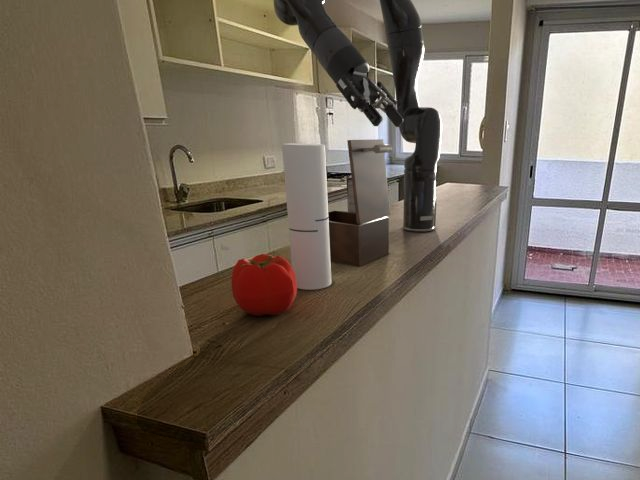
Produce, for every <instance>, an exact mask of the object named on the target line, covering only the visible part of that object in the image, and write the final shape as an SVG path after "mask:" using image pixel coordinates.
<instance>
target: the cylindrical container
mask: <svg viewBox="0 0 640 480" xmlns="http://www.w3.org/2000/svg"><path fill="white" fill-rule="evenodd" d="M281 151H282V160H283V161H282V164H283V176H284V186H285V187H284V188H285V200H286V212H287V213H286V214H287V222H288V235H289V236H288V237H289V249H290V260H291V267H292V269H293V271H294V274H295V276H296V281H297V289H300V290H307V291H308V290H309V291H311V290H312V291H313V290H321V289H322V290H323V289H326V288H328V287H330V286H331V285H332V283H333V282H332V264H331V262H332V261H331V260H330V239H329V218H328V211H329V202H328V201H329V199H328V198H329V197H328V179H327V178H328V177H327V159H326V156H327V155H326V144H323V143H322V144H321V143H299V142H296V143H295V142H294V143H291V142H289V143H287V142H286V143H281Z"/></svg>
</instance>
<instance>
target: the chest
mask: <svg viewBox="0 0 640 480" xmlns="http://www.w3.org/2000/svg"><path fill="white" fill-rule="evenodd" d="M328 218H329V239H330V260H331V262H334V263H339V264H344V265H349V266H356V267H361V266H363V265H366V264H368V263H370V262H373V261H375V260H377V259H381V258H382V257H384V256H386V255H389V254H390V248H389V247H390V246H389V245H390V242H389V241H390V238H389V237H390V234H389V233H390V232H389V231H390V217H389V216H385V217H382V218H378V219H375V220H371V221H368V222H365V223H361V224H357V219H356V213H354V212H348V211H345V210H337V209H333V210H328Z"/></svg>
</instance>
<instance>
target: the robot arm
mask: <svg viewBox="0 0 640 480" xmlns="http://www.w3.org/2000/svg"><path fill="white" fill-rule="evenodd" d="M324 3H325V0H273V10H274V13H275V15H276V17H277V18H278V20H279V21H280V22H282V23H283V24H285V25H287V26H292V27H293V26H296V27H298V32H299V35H300V37H301V39H302V40H303V41H304V42H305V45H306V46H307V47H308V48H309V49H310V51H311V52H312V54H313V55H314V56H315V57H316V59H317V61H318V63H319V65H320V66H321V68H323V70H324V71H325V72H326V73H327V75H328V76H329V77H330V78H331V80H332V81H333V83H334V84H335V85H336V88H337V90H338V91H339V93H341V95H342V96H343V98H344V99H345V100H346V102H347V103H348V104H349V106H350V107H351V108H352V109H353V110H356V109H358V111H359V112H360V113H363V114H364V116H365V117H366V118H367V119H368V121H369V122H370V124H371V125H372V126H373V127H379V126H380V124H381V123H382V122H383V120H384V119H383V116H382V115H381V113H380V112H379V111H378V110H377V109H379V110H381V111H382V112H383V113H384V114H385V115H386V116H387V118H388V119H389V120H390V122H391V123H392V124H393V126H394V127H395V128H398V129H399V132H400V133H399V134H400V136H401V137H402V139H403V140H404V141H405V142H407V143H411V144H412V143H413V144H415V147H414V151H413V152H412V154H411V155H409V156H406V157H405V159H404V162H403V221H402V229H403V230H405V231H408V232H414V233H426V232H431V231H435V229H436V222H437V221H436V220H437V201H438V199H437V195H436V190H437V189H436V187H437V181H436V180H437V167H438V162H439V159H440V155H441V147H442V146H441V144H442V134H443V122H442V117H441V114H440V112H439V111H438V110H437V109H435V108H434V107H427V106H426V107H423V106H422V107H421V106H420V101H419V95H418V94H419V93H418V82H419V81H418V80H419V75H420V73H421V68H422V65H423V61H424V55H425V41H424V33H423V28H422V21H421V17H420V14H419V12H418V10H417V8H416V7H415V5H414V3H413V1H412V0H379V4H380V5H379V6H380V9H381V14H382V19H383V25H384V26H383V27H384V33H385V39H386V45H387V50H388V55H389V60H390V64H391V65H390V67H391V72H392V79H393V85H394V92H395V97H394V96H393V95H392V94H391V93H390V92H389V90H388V89H387V88H386V87H385V85H383V83H382V81H377V82H375V81H374V80H373V79H372V78H370V77H369V72H370V65H369V63H368V61H367V60H366V58H365V57H364V56H363V55H362V53H361V51H359V50H358V48H357V47H356V46H355V44H354V43H353V41H351V39H350V38H349V37H348V35H346V34H345V33H344V32H343V31H342V29H341V28H340V27H339V26H338V24H336V22H335V21H334V19H333V18H332V17H331V16H330V15H329V13H328V12H327V10H326V7H325V5H324Z"/></svg>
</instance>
